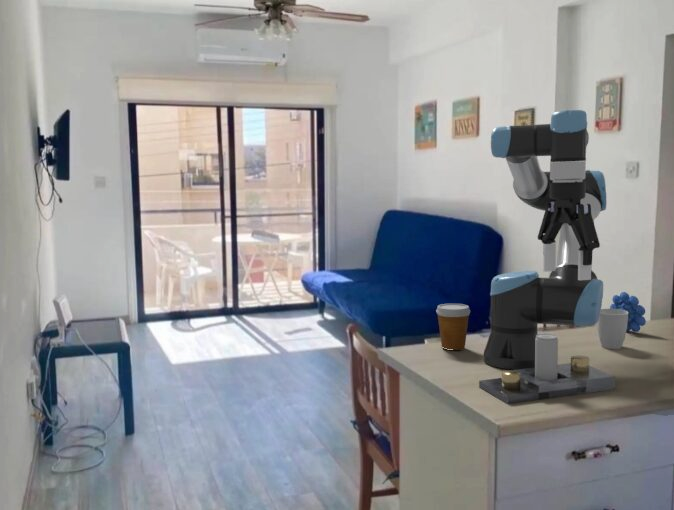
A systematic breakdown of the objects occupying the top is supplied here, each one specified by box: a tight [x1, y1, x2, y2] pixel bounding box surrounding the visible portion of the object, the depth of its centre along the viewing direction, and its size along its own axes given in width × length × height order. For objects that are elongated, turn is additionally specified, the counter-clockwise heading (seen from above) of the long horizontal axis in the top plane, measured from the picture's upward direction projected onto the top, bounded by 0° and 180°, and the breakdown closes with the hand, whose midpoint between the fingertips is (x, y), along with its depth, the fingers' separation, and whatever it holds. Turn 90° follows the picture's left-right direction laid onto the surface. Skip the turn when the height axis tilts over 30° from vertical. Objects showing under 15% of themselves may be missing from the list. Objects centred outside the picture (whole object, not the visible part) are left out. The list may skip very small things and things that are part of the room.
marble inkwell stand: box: [478, 355, 616, 405], centre depth 145 cm, size 12×27×6 cm, turn 107°
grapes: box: [609, 291, 647, 333], centre depth 196 cm, size 12×7×12 cm, turn 33°
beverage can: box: [535, 333, 559, 381], centre depth 145 cm, size 5×5×12 cm
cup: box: [596, 308, 628, 350], centre depth 179 cm, size 8×8×10 cm
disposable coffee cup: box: [435, 303, 471, 351], centre depth 181 cm, size 10×10×12 cm
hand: (566, 275), depth 146 cm, fingers open, 13 cm apart
